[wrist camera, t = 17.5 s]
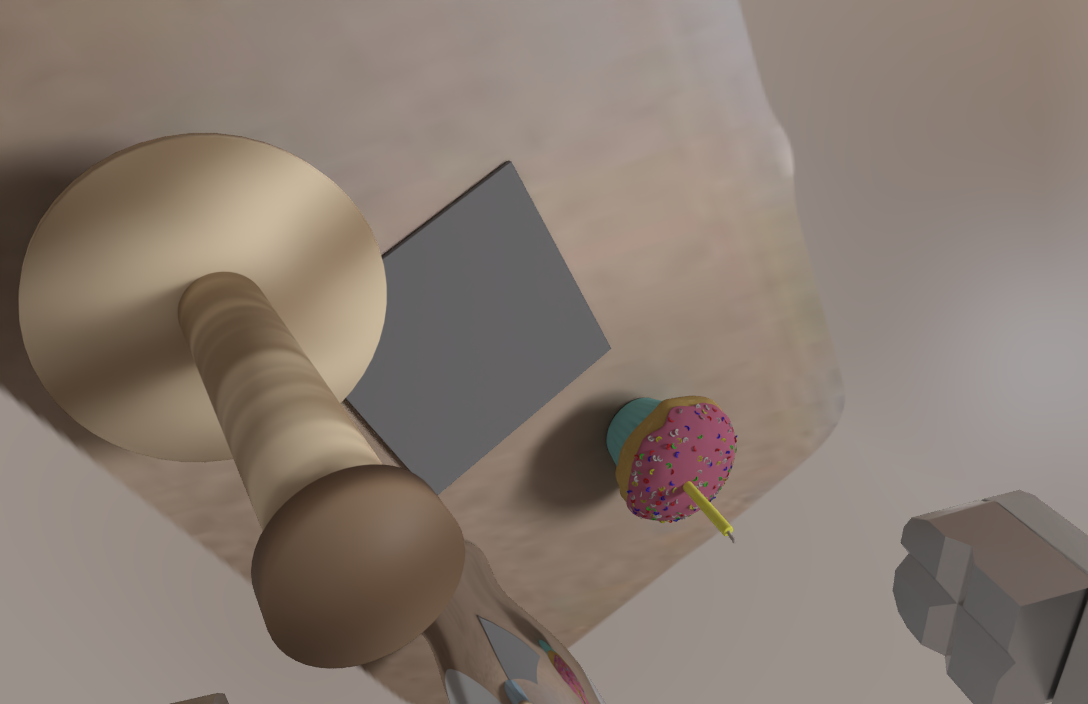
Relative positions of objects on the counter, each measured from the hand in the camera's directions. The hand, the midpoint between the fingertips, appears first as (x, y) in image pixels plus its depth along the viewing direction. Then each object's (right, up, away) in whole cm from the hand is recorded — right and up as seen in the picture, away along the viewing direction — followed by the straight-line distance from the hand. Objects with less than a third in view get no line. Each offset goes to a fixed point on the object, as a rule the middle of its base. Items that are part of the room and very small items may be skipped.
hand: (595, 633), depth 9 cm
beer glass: (-7, -11, +40) cm, 42 cm away
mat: (-5, +4, +34) cm, 35 cm away
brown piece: (-13, +5, +22) cm, 26 cm away
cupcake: (+5, -2, +44) cm, 44 cm away
